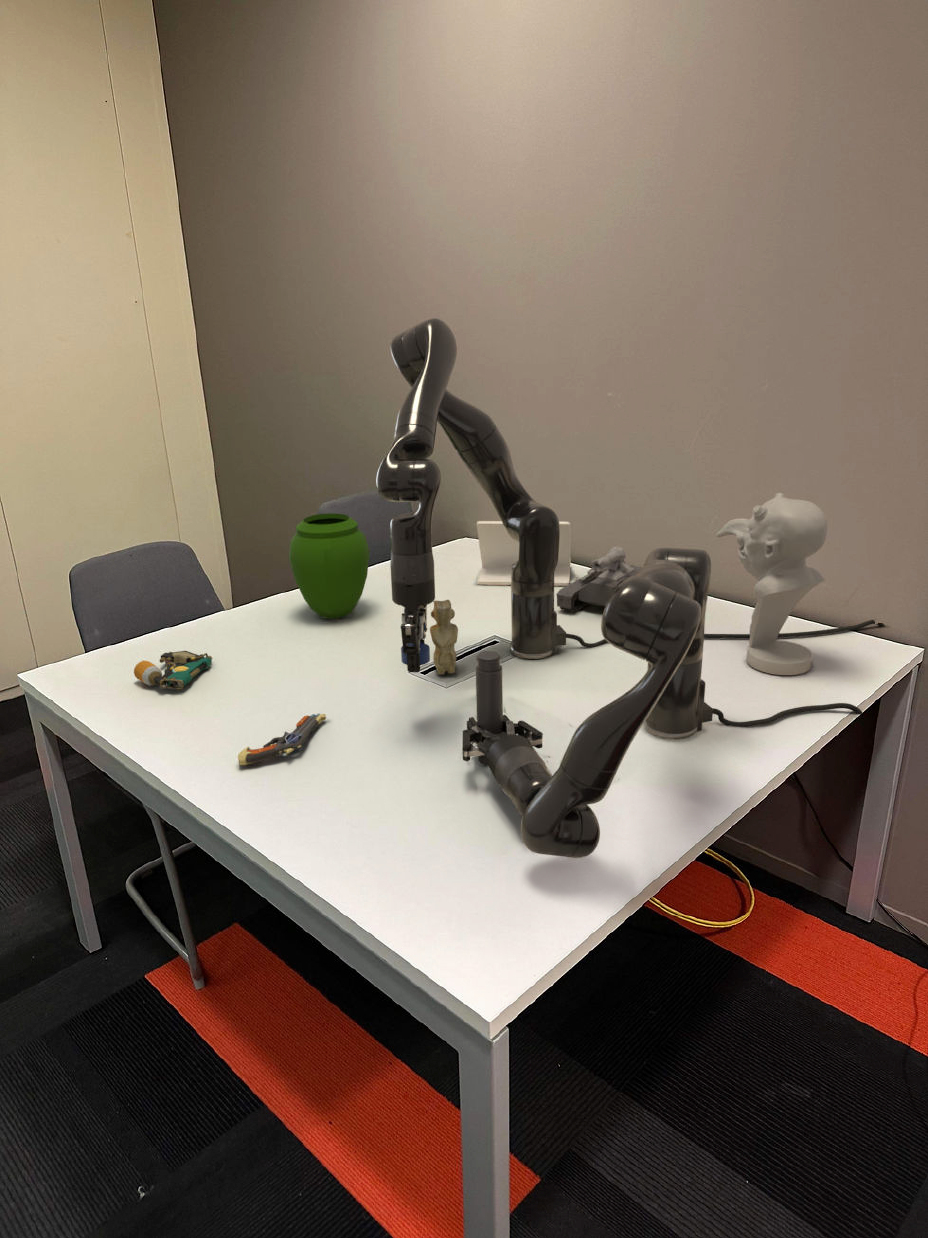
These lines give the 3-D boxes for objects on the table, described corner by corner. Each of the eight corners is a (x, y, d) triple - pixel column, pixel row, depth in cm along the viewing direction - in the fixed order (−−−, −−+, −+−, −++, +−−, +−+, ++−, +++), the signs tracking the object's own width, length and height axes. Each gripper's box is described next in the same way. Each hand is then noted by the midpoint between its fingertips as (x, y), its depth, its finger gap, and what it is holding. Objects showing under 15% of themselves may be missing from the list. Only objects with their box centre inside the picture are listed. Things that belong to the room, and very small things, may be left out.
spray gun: (177, 659, 191) (231, 671, 185) (120, 684, 176) (176, 698, 171) (176, 641, 190) (230, 653, 184) (118, 665, 175) (174, 678, 169)
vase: (389, 608, 216) (383, 514, 208) (339, 633, 201) (330, 533, 192) (330, 596, 226) (322, 506, 218) (278, 619, 211) (267, 523, 202)
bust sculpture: (745, 630, 196) (760, 478, 183) (832, 666, 176) (855, 499, 163) (692, 644, 189) (703, 487, 176) (776, 683, 169) (796, 510, 156)
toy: (603, 584, 229) (605, 530, 224) (673, 597, 218) (677, 540, 213) (555, 612, 210) (556, 553, 205) (630, 627, 199) (633, 566, 194)
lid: (413, 652, 156) (412, 640, 156) (435, 658, 154) (435, 646, 153) (395, 662, 152) (395, 649, 152) (418, 668, 150) (418, 655, 149)
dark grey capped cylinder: (490, 750, 148) (488, 647, 141) (508, 759, 144) (507, 655, 138) (472, 759, 145) (469, 655, 138) (490, 769, 142) (488, 663, 135)
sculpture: (458, 662, 183) (456, 596, 178) (460, 676, 176) (457, 608, 171) (431, 663, 183) (428, 597, 177) (431, 677, 176) (428, 609, 171)
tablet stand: (569, 585, 229) (570, 524, 223) (476, 584, 232) (475, 523, 226) (570, 566, 246) (571, 508, 240) (484, 564, 249) (483, 507, 243)
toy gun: (232, 755, 143) (287, 753, 141) (276, 711, 161) (326, 708, 159) (235, 770, 144) (291, 767, 142) (279, 724, 162) (329, 722, 160)
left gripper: (398, 562, 154) (402, 649, 160) (383, 587, 141) (388, 681, 147) (439, 563, 154) (442, 650, 160) (428, 588, 140) (431, 682, 146)
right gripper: (562, 739, 130) (524, 693, 145) (473, 755, 126) (443, 706, 142) (562, 782, 133) (524, 732, 148) (474, 799, 129) (445, 746, 144)
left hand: (416, 664), depth 153 cm, fingers closed on lid, 5 cm apart
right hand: (484, 720), depth 145 cm, fingers closed on dark grey capped cylinder, 4 cm apart
